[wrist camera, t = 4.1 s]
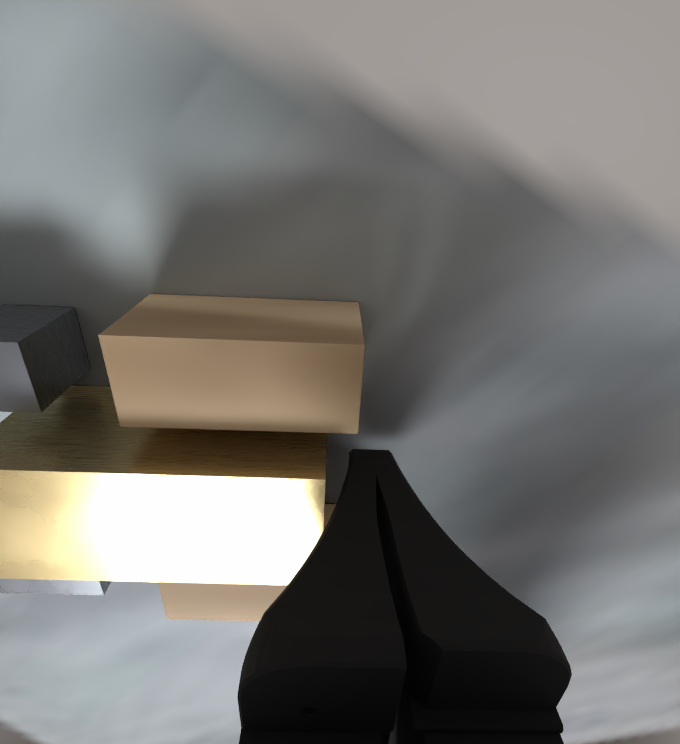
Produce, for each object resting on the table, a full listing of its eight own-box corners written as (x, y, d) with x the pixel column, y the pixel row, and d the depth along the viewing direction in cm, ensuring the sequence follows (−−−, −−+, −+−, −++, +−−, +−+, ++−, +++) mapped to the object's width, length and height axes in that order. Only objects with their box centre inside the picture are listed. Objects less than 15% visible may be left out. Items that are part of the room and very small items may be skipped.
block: (324, 487, 16) (321, 585, 12) (77, 479, 15) (0, 578, 12) (328, 394, 14) (325, 479, 10) (47, 384, 14) (-55, 468, 10)
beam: (341, 549, 17) (342, 622, 15) (192, 546, 17) (167, 619, 14) (358, 302, 12) (364, 344, 10) (149, 293, 12) (98, 335, 10)
